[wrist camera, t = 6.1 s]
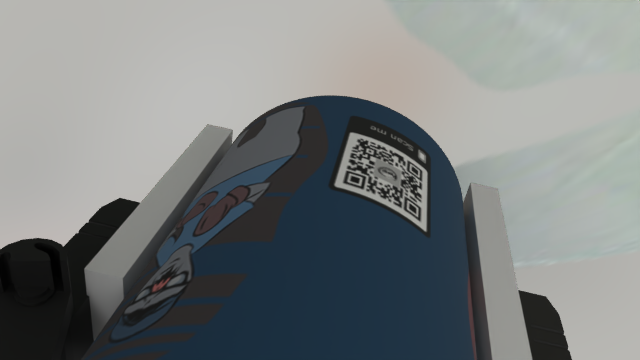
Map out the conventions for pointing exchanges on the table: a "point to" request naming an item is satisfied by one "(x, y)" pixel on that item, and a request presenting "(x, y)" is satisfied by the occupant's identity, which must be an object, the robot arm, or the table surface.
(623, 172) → the table surface
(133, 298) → the soda can
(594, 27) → the table surface
